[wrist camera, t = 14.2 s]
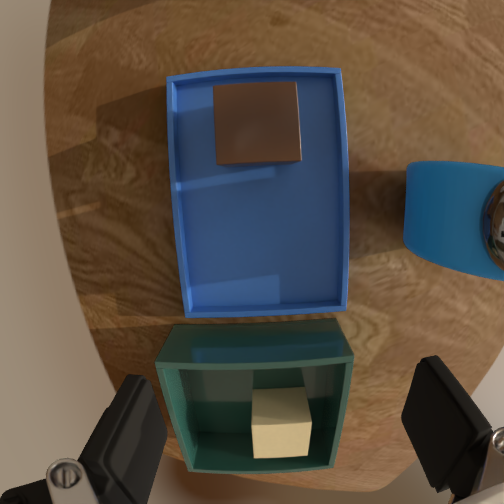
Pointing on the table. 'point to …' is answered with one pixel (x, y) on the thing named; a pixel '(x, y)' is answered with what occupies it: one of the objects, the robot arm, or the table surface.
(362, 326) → the table surface
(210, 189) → the blue shallow tray
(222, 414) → the green storage bin
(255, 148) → the walnut block
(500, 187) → the alarm clock
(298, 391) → the cream block
